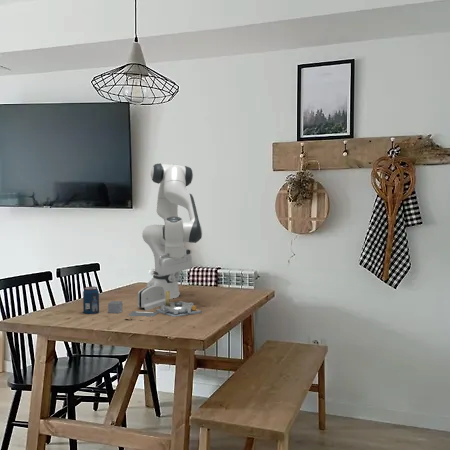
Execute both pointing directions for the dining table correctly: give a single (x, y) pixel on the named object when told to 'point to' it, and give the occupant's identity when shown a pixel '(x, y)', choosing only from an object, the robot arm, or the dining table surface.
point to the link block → (115, 307)
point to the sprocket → (176, 306)
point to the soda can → (90, 300)
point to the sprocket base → (179, 313)
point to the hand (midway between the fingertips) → (175, 281)
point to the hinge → (151, 297)
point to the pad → (143, 313)
